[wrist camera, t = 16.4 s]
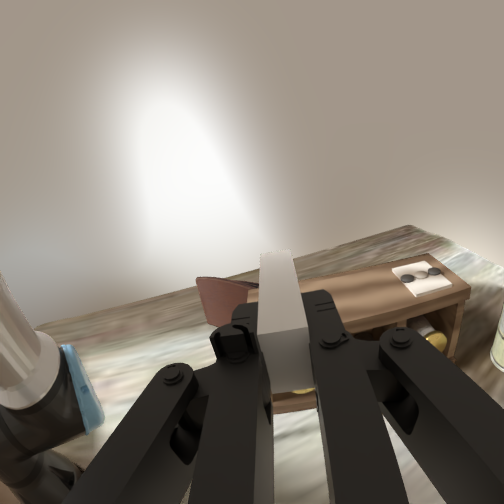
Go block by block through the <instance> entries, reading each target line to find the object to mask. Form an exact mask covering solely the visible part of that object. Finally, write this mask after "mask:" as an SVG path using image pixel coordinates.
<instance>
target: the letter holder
mask: <svg viewBox="0 0 504 504" xmlns="http://www.w3.org/2000/svg"><path fill="white" fill-rule="evenodd" d="M196 284H197V287H198V291H199V295H200V299H201V302H202V305H203V309H204V312H205V316H206V319H207V322H208V324H211V325H214V326H217V327H221V326H223V325H225V324H229V323H231V317H232V312H233V311H234V309H235V308H236V307H237V306H238V305H239V304H244V303H247V298H248V290H251V289H257V288H259V283H253V282H247V281H237V280H228V279H223V278H216V277H197V278H196Z"/></svg>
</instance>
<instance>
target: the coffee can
mask: <svg viewBox="0 0 504 504" xmlns="http://www.w3.org/2000/svg"><path fill="white" fill-rule="evenodd" d="M490 356H491V360H492V362H493V364H494V365H495V366H496V367H497V368H498V369H499V370H501V371H502V372H504V303H503V308H502V312H501V317H500V321H499V324H498V328H497V332H496V335H495V339H494V342H493V345H492V347H491V351H490Z"/></svg>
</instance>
